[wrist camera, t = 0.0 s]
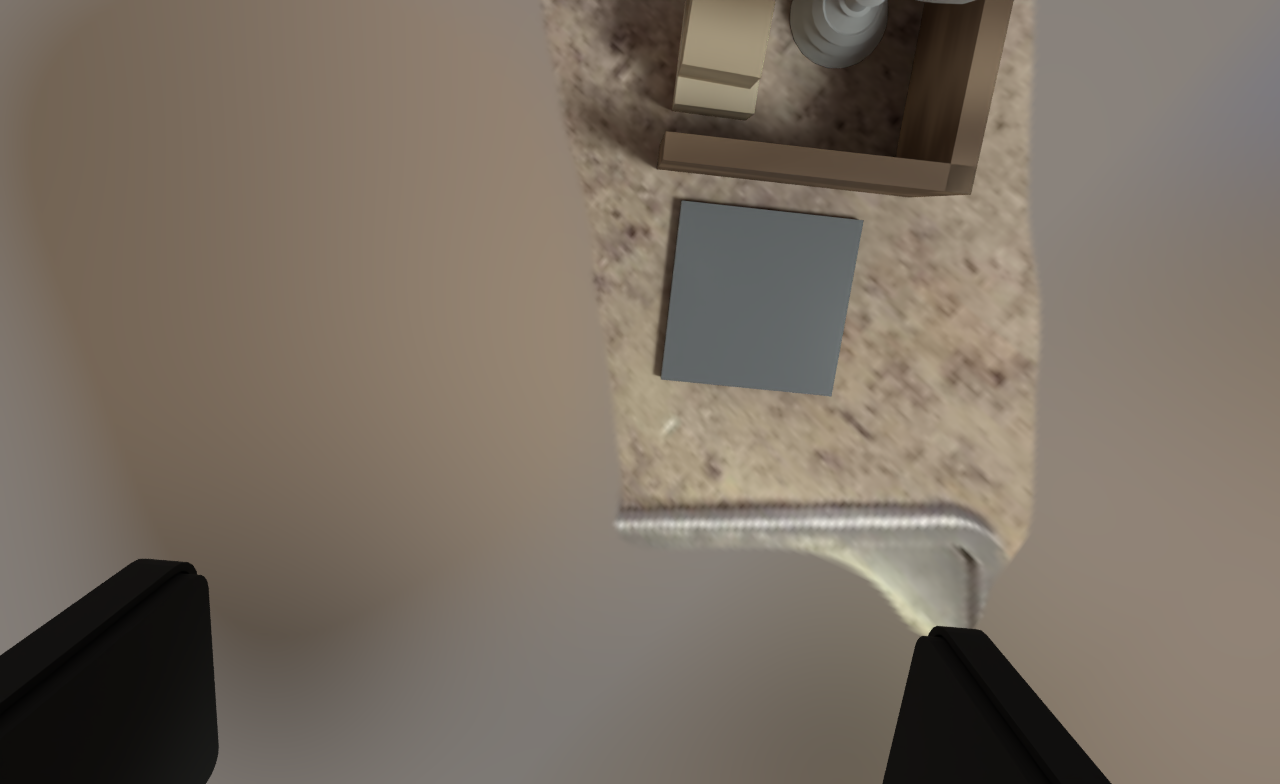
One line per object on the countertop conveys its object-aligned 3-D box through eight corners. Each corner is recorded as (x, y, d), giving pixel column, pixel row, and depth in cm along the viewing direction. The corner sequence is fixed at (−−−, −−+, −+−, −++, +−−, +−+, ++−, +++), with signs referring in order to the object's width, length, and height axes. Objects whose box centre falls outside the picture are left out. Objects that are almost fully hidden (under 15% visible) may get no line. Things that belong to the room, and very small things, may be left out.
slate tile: (681, 200, 38) (682, 200, 37) (859, 220, 38) (863, 220, 37) (660, 376, 40) (661, 379, 39) (828, 393, 40) (831, 396, 40)
